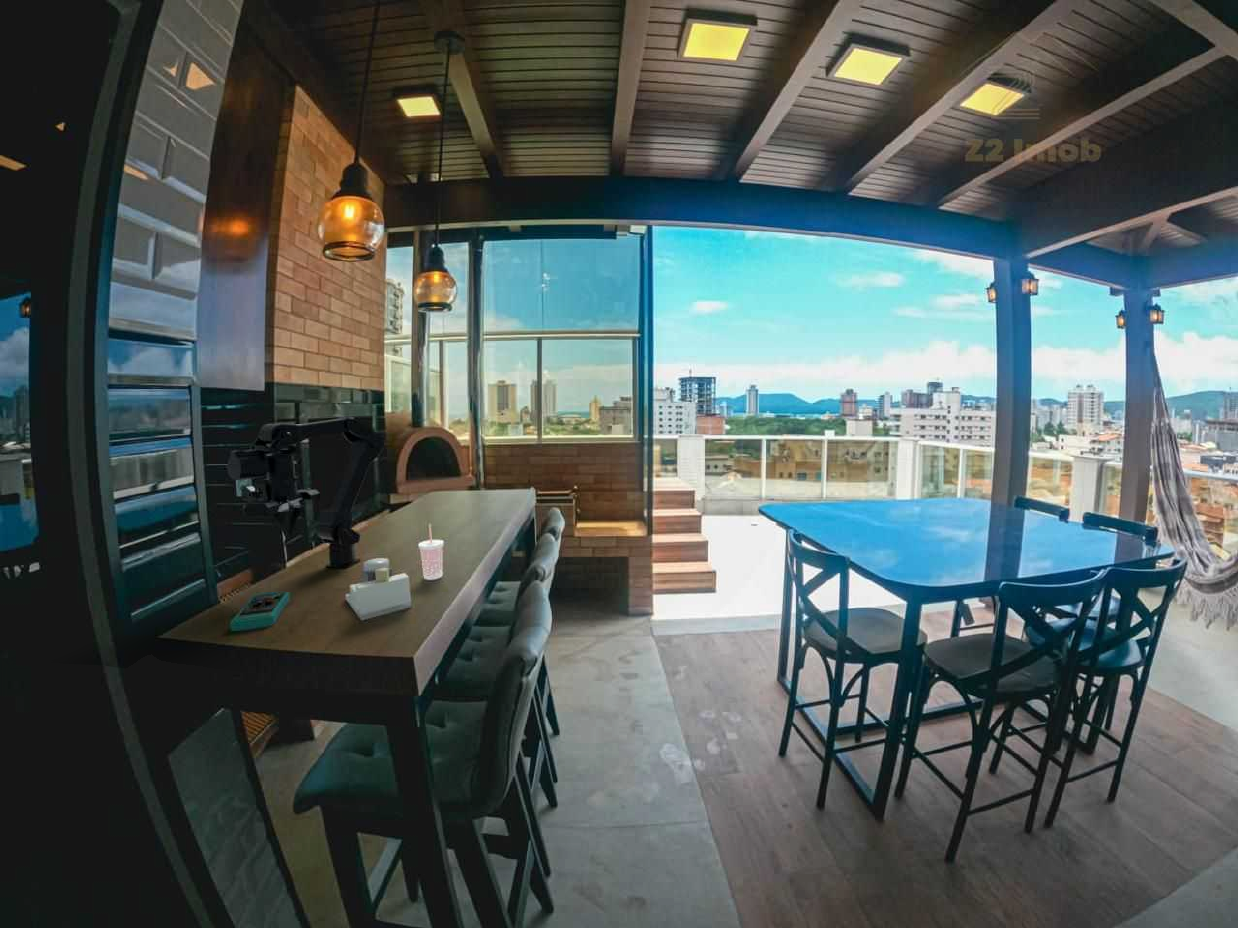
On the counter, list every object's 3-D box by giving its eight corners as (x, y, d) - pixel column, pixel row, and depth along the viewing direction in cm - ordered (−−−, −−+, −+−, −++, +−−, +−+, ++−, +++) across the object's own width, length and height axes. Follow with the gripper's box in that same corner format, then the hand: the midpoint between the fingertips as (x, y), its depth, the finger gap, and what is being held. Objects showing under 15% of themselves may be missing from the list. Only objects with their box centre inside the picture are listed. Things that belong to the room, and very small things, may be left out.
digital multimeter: (291, 600, 114) (290, 588, 114) (273, 628, 101) (271, 614, 100) (253, 606, 112) (252, 593, 111) (229, 634, 98) (228, 620, 98)
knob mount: (346, 599, 114) (342, 560, 112) (392, 588, 120) (389, 551, 119) (361, 620, 103) (357, 577, 101) (411, 607, 109) (408, 566, 108)
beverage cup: (434, 570, 132) (431, 519, 130) (450, 574, 129) (447, 522, 127) (415, 578, 127) (411, 525, 125) (431, 582, 124) (427, 528, 122)
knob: (364, 598, 110) (361, 561, 109) (387, 592, 114) (385, 556, 112) (370, 605, 107) (366, 567, 105) (394, 599, 110) (391, 562, 109)
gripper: (279, 468, 132) (285, 525, 134) (217, 480, 114) (225, 545, 116) (318, 468, 131) (324, 525, 133) (262, 480, 113) (270, 546, 115)
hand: (287, 535), depth 124 cm, fingers closed
